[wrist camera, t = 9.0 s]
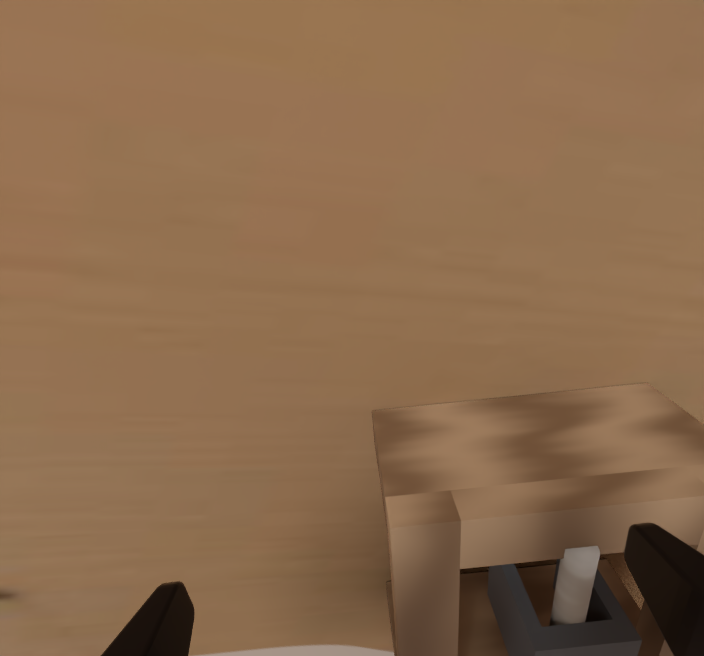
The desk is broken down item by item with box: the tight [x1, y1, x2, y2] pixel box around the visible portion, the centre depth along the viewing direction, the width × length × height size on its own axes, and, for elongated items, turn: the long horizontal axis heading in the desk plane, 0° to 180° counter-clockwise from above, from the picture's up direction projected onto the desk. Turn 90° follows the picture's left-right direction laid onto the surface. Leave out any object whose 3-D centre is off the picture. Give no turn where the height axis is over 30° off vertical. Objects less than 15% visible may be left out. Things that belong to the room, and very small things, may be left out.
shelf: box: [372, 383, 704, 656], centre depth 20 cm, size 14×15×8 cm
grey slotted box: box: [487, 559, 642, 656], centre depth 18 cm, size 4×4×5 cm
